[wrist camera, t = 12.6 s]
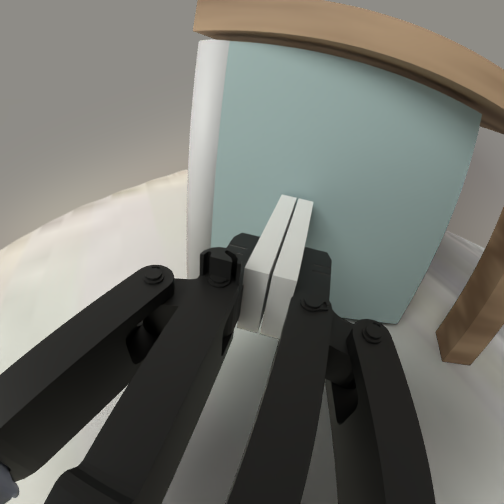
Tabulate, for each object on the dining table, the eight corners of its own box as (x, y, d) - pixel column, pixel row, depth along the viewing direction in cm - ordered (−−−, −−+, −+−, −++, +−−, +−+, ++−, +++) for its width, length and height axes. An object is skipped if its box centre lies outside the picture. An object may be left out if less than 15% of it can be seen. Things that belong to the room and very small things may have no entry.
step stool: (262, 189, 37) (282, 53, 27) (419, 232, 33) (458, 104, 23) (182, 296, 19) (198, -4, 9) (469, 365, 15) (582, 137, 5)
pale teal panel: (192, 275, 20) (205, 44, 12) (391, 307, 19) (465, 109, 11) (183, 293, 18) (193, 39, 10) (397, 326, 18) (484, 114, 9)
